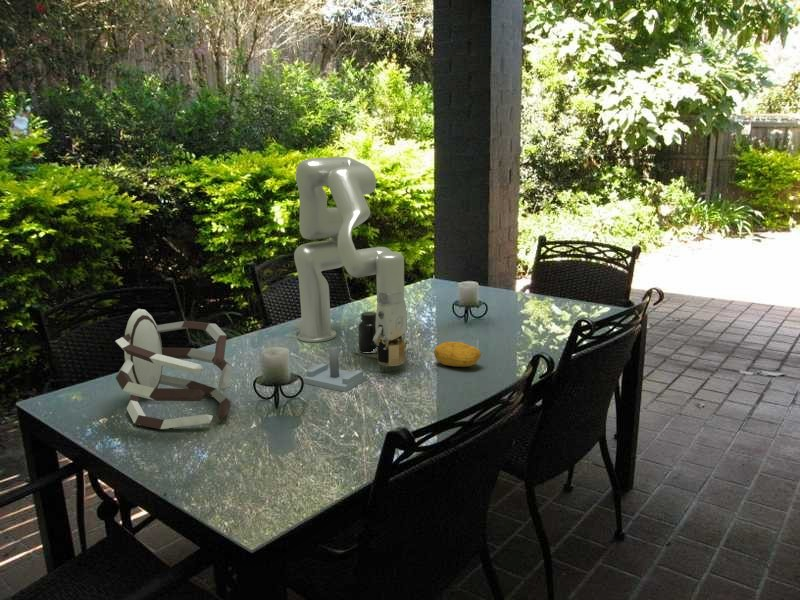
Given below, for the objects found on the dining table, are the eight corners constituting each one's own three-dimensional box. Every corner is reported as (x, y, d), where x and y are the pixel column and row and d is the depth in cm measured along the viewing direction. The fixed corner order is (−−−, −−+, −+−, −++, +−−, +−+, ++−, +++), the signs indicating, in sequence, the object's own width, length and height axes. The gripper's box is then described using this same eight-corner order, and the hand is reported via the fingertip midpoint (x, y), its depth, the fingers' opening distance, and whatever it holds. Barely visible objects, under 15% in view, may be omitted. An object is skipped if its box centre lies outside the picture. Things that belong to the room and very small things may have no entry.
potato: (443, 358, 195) (442, 336, 194) (484, 366, 188) (485, 343, 186) (429, 366, 189) (429, 343, 187) (472, 374, 182) (472, 351, 180)
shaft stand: (303, 383, 179) (301, 349, 176) (326, 371, 187) (324, 339, 185) (345, 392, 172) (343, 357, 169) (366, 379, 180) (365, 346, 177)
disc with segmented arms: (184, 376, 184) (263, 415, 163) (89, 409, 165) (165, 458, 143) (177, 293, 177) (259, 323, 156) (77, 317, 158) (155, 355, 136)
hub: (373, 362, 185) (373, 342, 183) (387, 355, 190) (387, 335, 189) (395, 367, 181) (395, 347, 179) (408, 359, 187) (408, 339, 185)
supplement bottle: (378, 354, 200) (376, 316, 197) (356, 354, 201) (354, 316, 198) (383, 347, 206) (382, 310, 203) (362, 347, 208) (360, 310, 205)
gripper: (384, 306, 172) (385, 370, 176) (418, 291, 186) (418, 350, 191) (361, 302, 175) (362, 365, 180) (395, 288, 190) (396, 346, 194)
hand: (391, 357), depth 185 cm, fingers closed on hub, 7 cm apart
